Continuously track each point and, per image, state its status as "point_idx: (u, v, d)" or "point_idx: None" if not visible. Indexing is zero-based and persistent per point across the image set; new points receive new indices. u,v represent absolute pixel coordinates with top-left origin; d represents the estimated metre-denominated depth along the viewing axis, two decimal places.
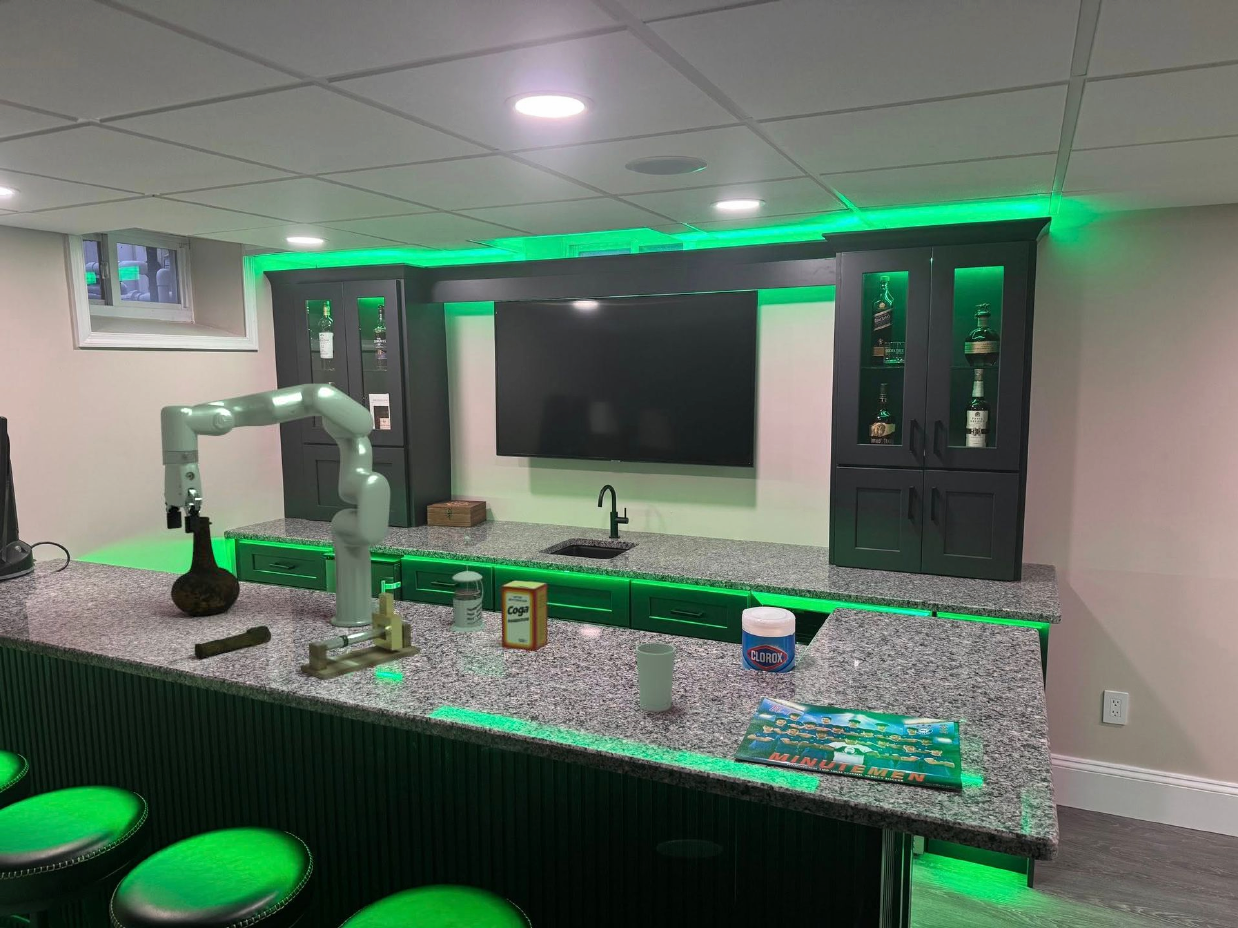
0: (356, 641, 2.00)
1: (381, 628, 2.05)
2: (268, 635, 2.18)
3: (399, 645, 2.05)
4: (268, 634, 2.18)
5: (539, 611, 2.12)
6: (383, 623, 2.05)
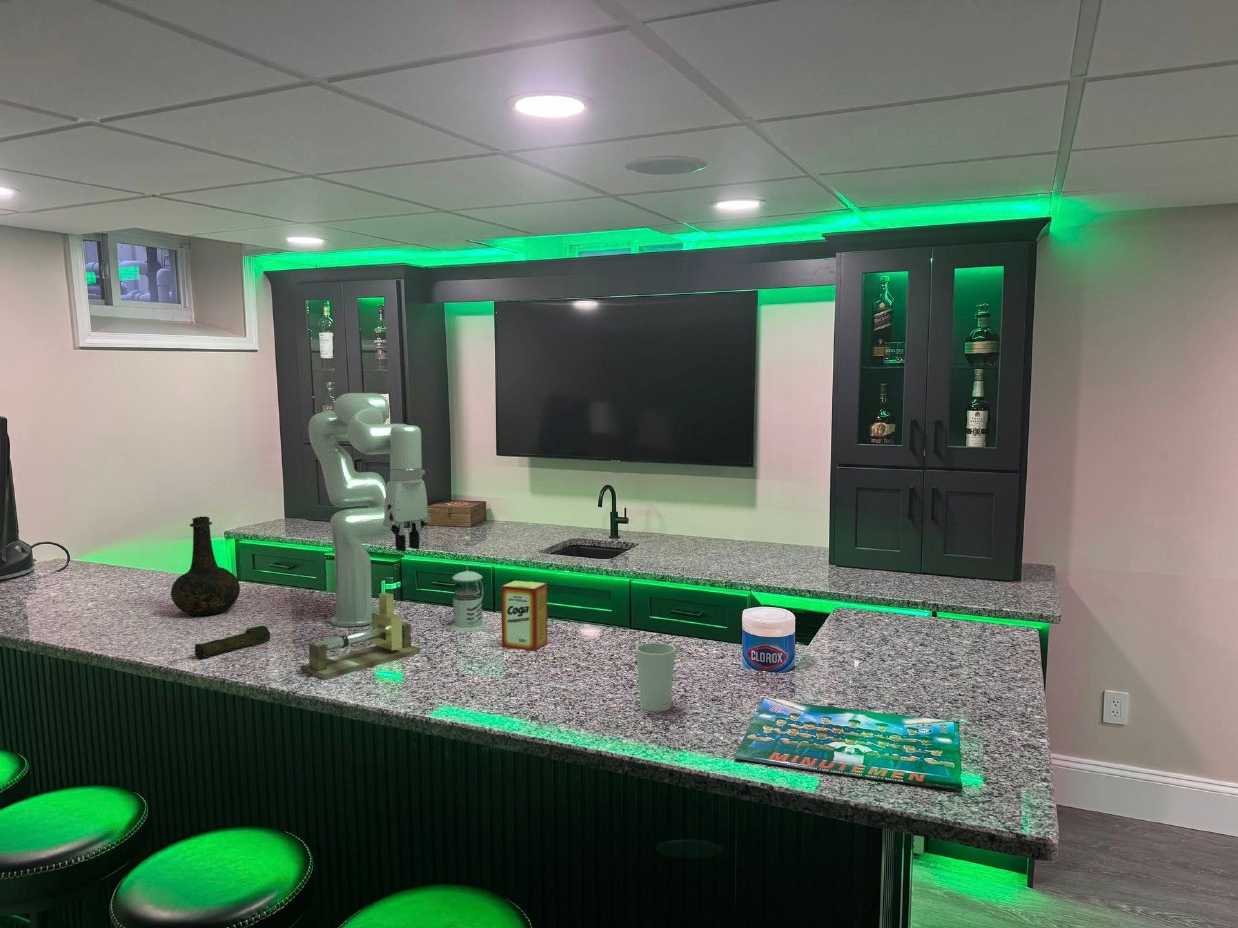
0: (356, 641, 2.00)
1: (381, 628, 2.05)
2: (268, 635, 2.19)
3: (399, 645, 2.05)
4: (267, 634, 2.18)
5: (539, 611, 2.12)
6: (383, 623, 2.05)
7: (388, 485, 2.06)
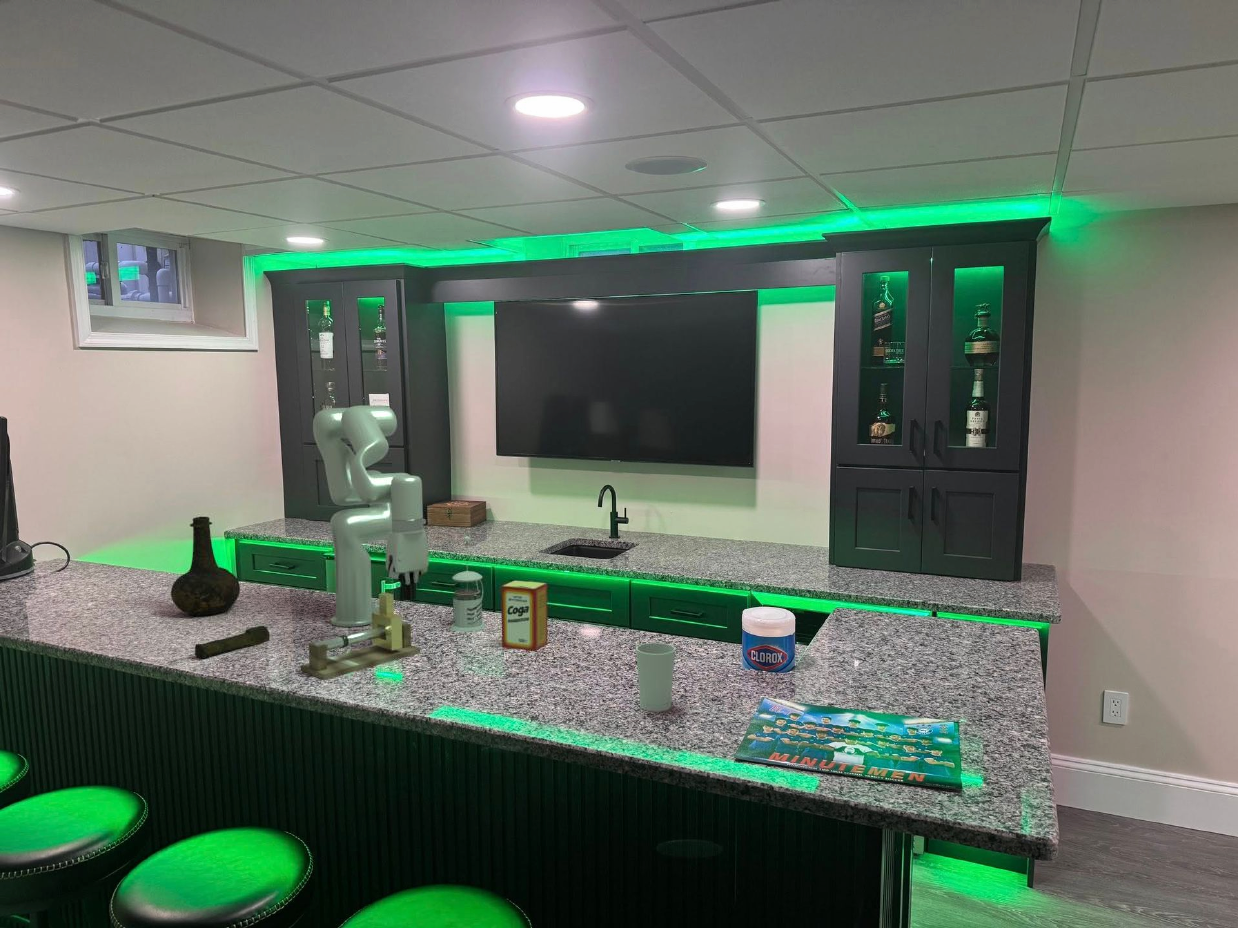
0: (356, 641, 2.00)
1: (381, 628, 2.05)
2: (267, 635, 2.19)
3: (399, 645, 2.05)
4: (267, 634, 2.19)
5: (539, 611, 2.12)
6: (383, 623, 2.05)
7: (389, 536, 2.07)
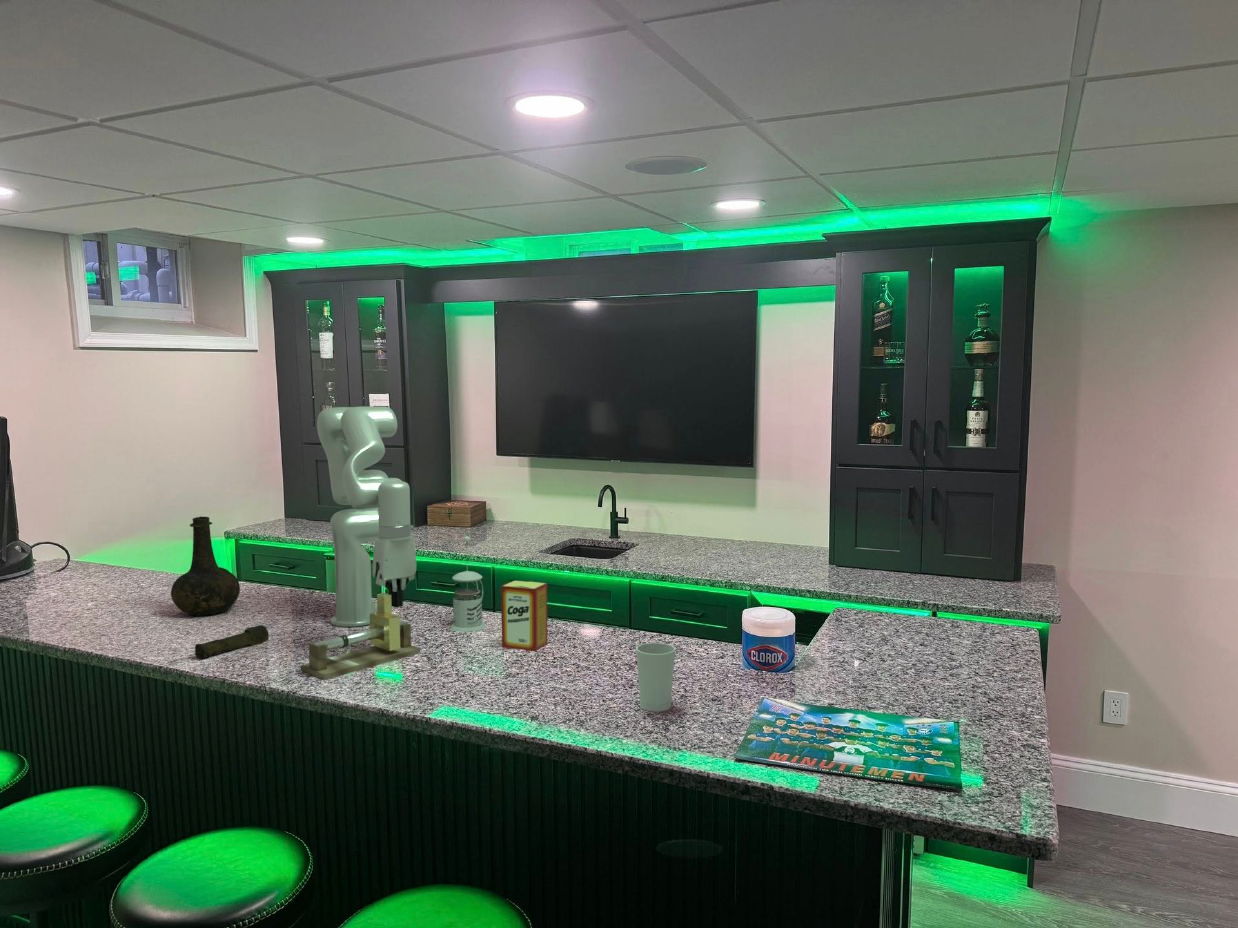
0: (356, 641, 2.00)
1: (381, 628, 2.05)
2: (266, 634, 2.19)
3: (397, 646, 2.05)
4: (266, 633, 2.19)
5: (539, 611, 2.12)
6: (381, 623, 2.05)
7: (376, 542, 2.05)
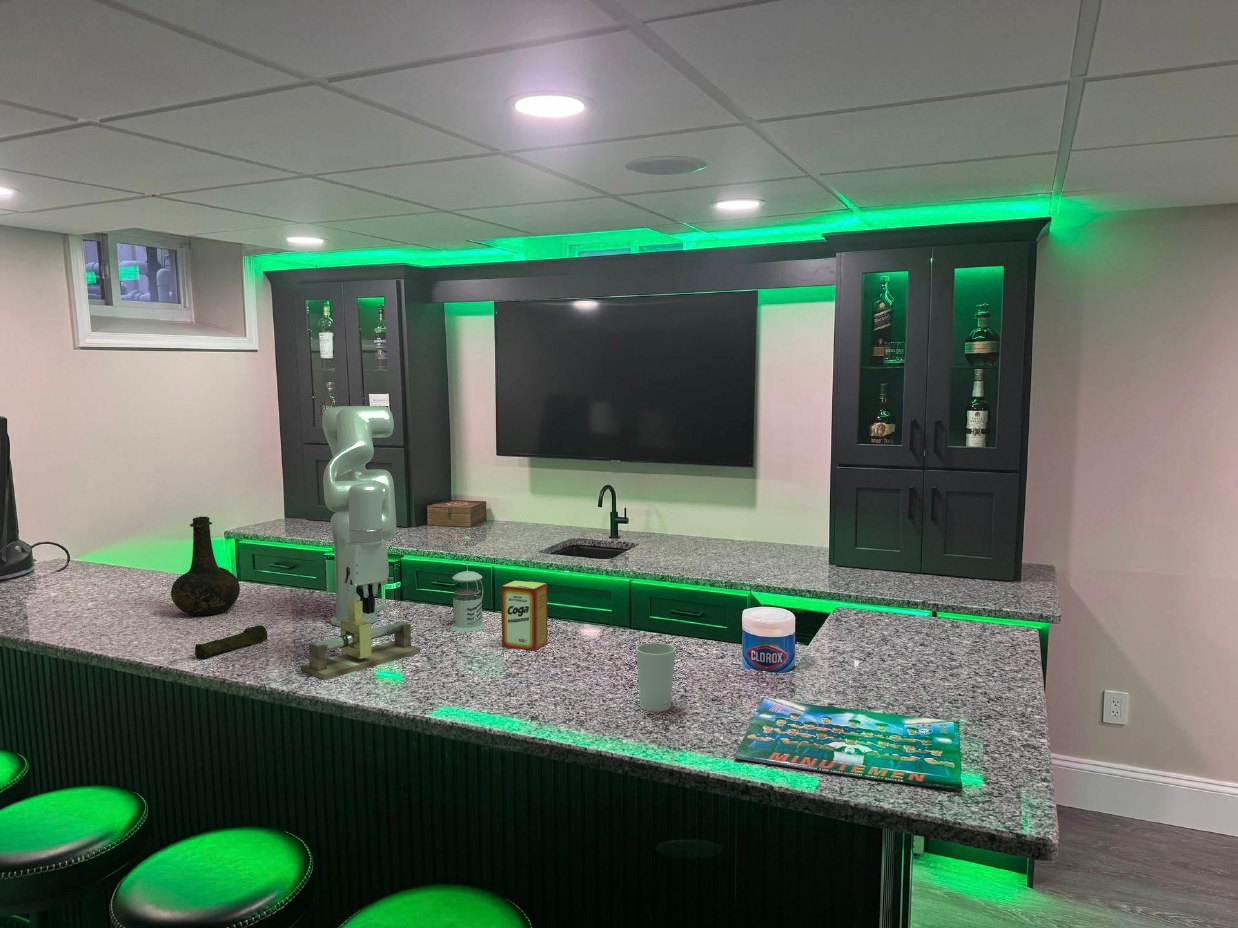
0: None
1: (381, 628, 2.05)
2: (265, 634, 2.19)
3: (368, 653, 1.99)
4: (265, 633, 2.19)
5: (539, 611, 2.12)
6: (351, 631, 1.99)
7: (347, 547, 1.99)
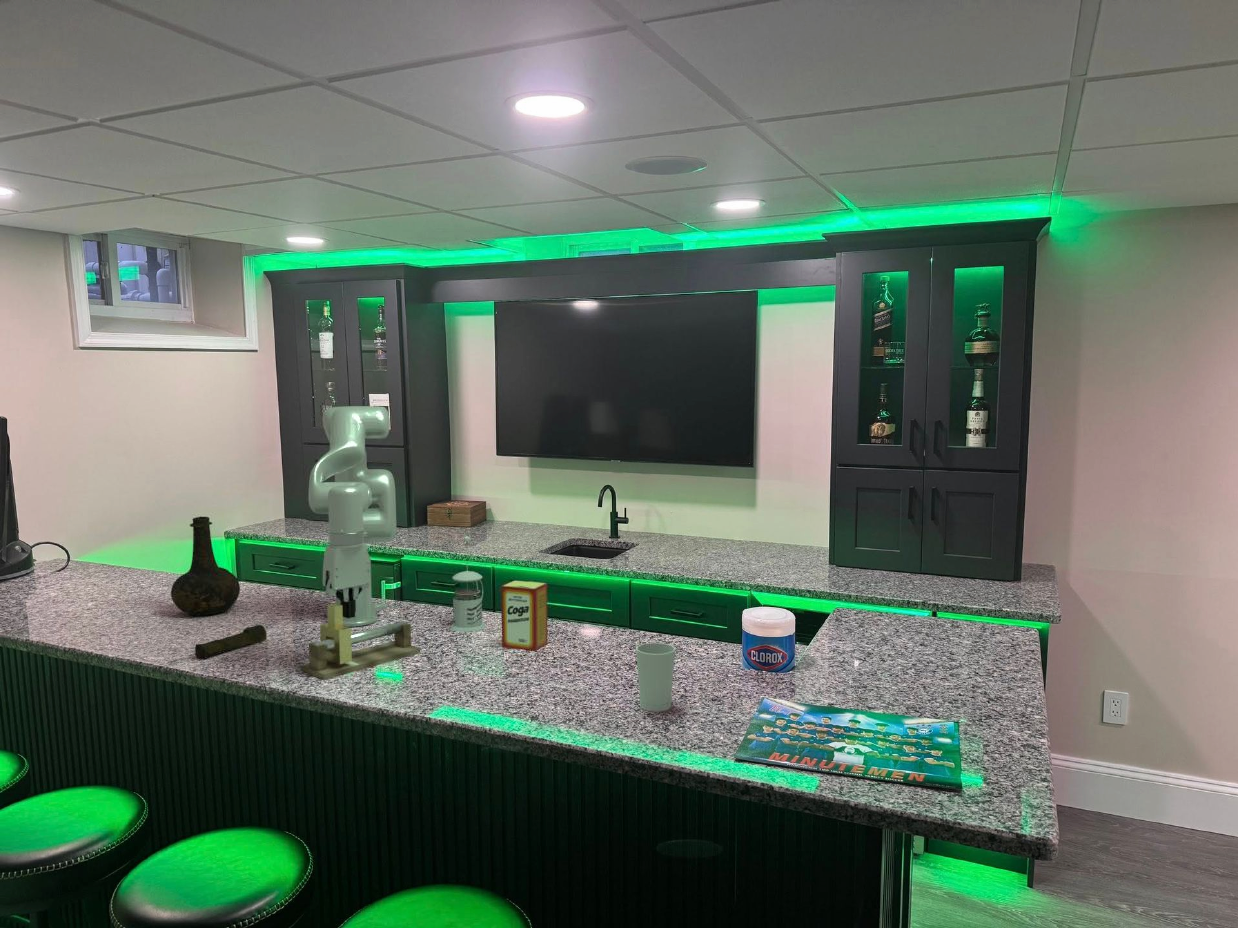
0: (356, 641, 2.00)
1: (381, 628, 2.05)
2: (264, 634, 2.20)
3: (348, 659, 1.95)
4: (264, 633, 2.19)
5: (539, 611, 2.12)
6: (331, 635, 1.95)
7: (326, 550, 1.95)
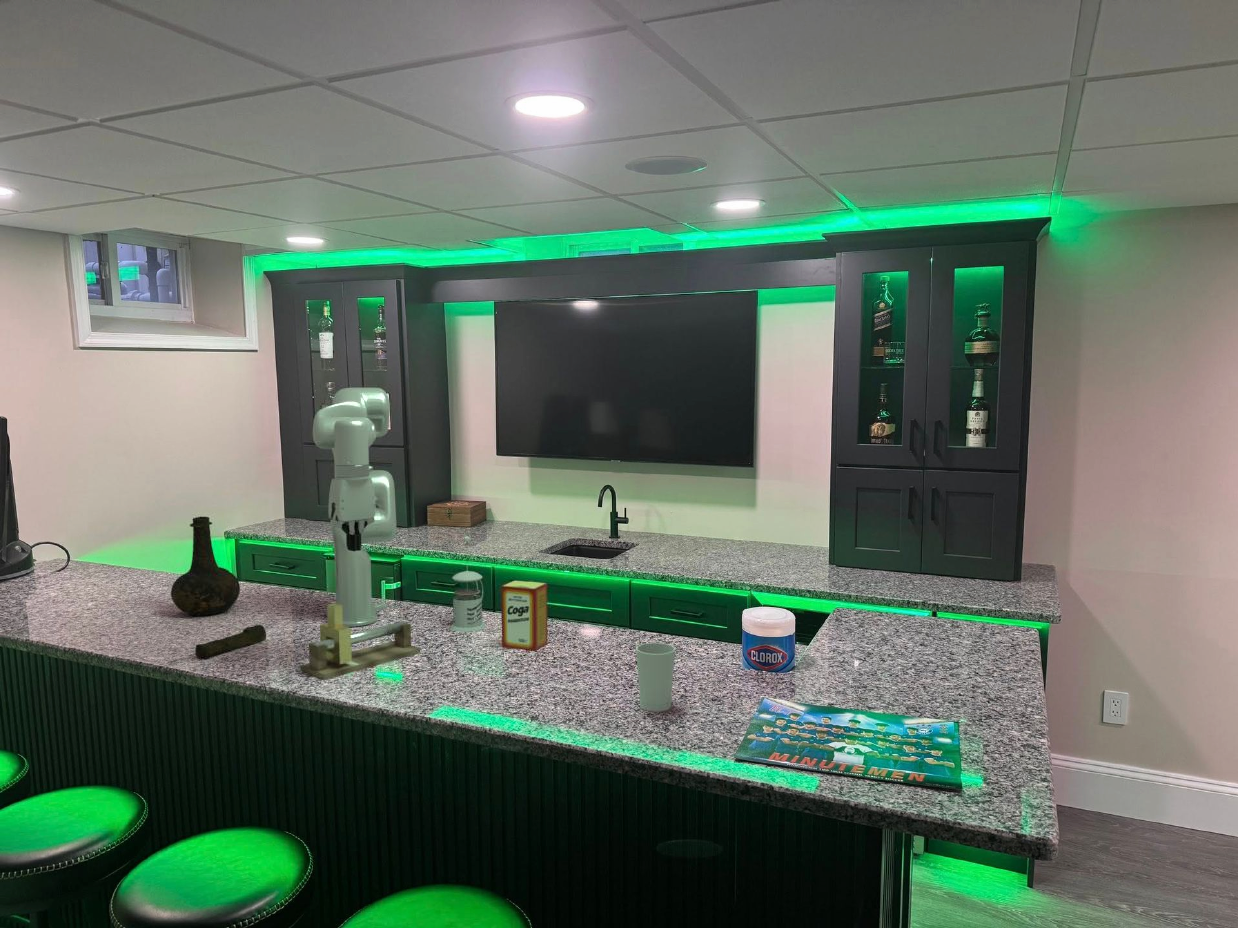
0: (356, 641, 2.00)
1: (381, 628, 2.05)
2: (264, 634, 2.20)
3: (348, 659, 1.95)
4: (264, 633, 2.19)
5: (539, 611, 2.12)
6: (331, 635, 1.95)
7: (332, 482, 1.95)
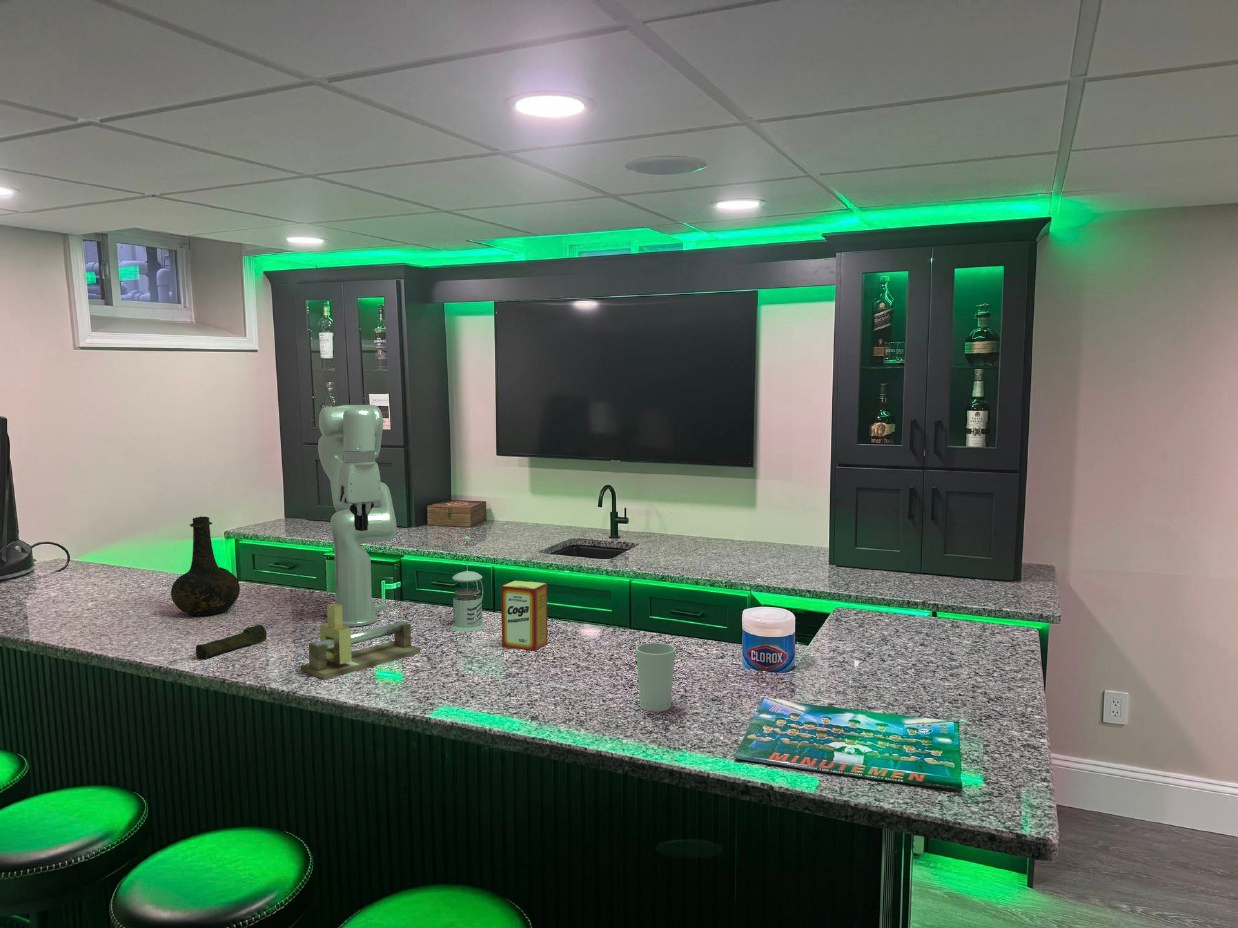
0: (356, 641, 2.00)
1: (381, 628, 2.05)
2: (264, 634, 2.20)
3: (348, 659, 1.95)
4: (264, 633, 2.19)
5: (539, 611, 2.12)
6: (331, 635, 1.95)
7: (341, 467, 2.11)
